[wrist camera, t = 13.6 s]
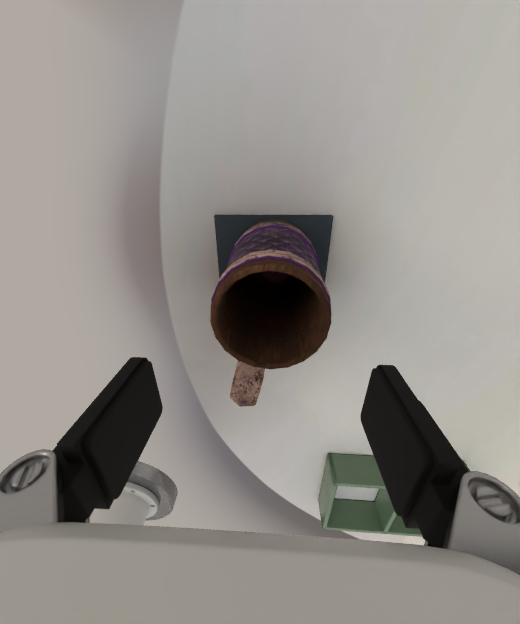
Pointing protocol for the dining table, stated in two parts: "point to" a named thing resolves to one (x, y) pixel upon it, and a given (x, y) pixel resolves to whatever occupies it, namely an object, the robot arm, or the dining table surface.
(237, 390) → the mug
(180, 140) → the dining table surface
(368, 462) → the divided box
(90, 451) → the robot arm
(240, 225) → the mat
